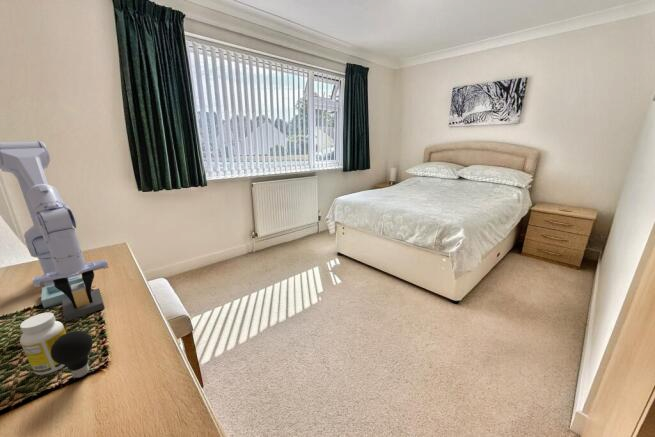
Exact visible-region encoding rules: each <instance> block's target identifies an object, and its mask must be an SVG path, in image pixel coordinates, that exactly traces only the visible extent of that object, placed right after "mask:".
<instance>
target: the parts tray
mask: <svg viewBox="0 0 655 437" xmlns="http://www.w3.org/2000/svg"><path fill="white" fill-rule="evenodd" d="M68 281H69V284H70V287H71V285H73V284H77V283H80V282H84V281H83V279H82V276H79V277H78V278H75V279H72V280H68ZM84 285H85V284H84ZM85 288H86V287H85ZM65 298H68V297H67V296H66V295H65V294H64V293H63V292H62V291H60V290H59V289H57V288H56V287H55V286H54V284H53V285H50V286H43V287H41V296H40V301H41V304H42V306H43V307H42V308H43V309H47V308H51V307H54V306H57V305H60V304H62V299H65Z"/></svg>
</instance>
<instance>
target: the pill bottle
mask: <svg viewBox="0 0 655 437" xmlns="http://www.w3.org/2000/svg"><path fill="white" fill-rule="evenodd" d="M19 328H20V331H21V332H22V335H21V336H20V339H19V342H20V345H21V347H22V349H23V351H24V354H25V356H26V359H27V360H28V363H29V366H30V368H31V369H32V372H33V373H34V374H35V375H38V376H39V375H40V376H43V375H48V374H52V373H53V372H54V373H55V372H58V371H59V370H60V369H63V368H64V367H66V366H65V365H63V364H59V363H57V362H55V361H54V360H53V359H52V357H51V348H52V345H53V344H54V342H55V341H56V340H57V339H58V338H59V337H60V336H62V335H64V334H66V333H67V332H66V329H65V326H64V324H63V323H62V322H60V321H58V320H56V317H55V315H54V313H53V312H42V313H39V314H36V315H33V316H31V317H28V318H26V319H25V320H24V321H22V322H21V323H20V325H19Z"/></svg>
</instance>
